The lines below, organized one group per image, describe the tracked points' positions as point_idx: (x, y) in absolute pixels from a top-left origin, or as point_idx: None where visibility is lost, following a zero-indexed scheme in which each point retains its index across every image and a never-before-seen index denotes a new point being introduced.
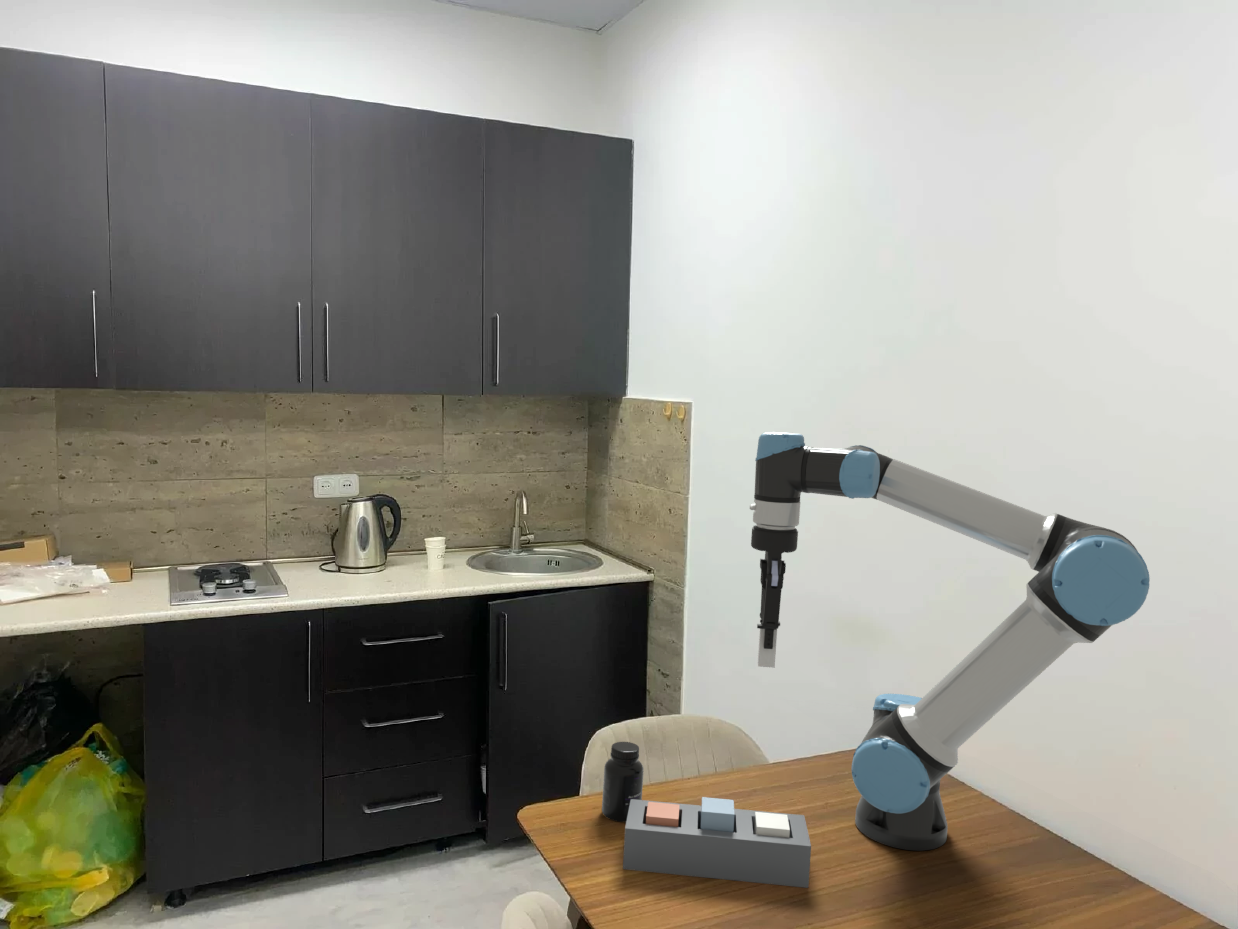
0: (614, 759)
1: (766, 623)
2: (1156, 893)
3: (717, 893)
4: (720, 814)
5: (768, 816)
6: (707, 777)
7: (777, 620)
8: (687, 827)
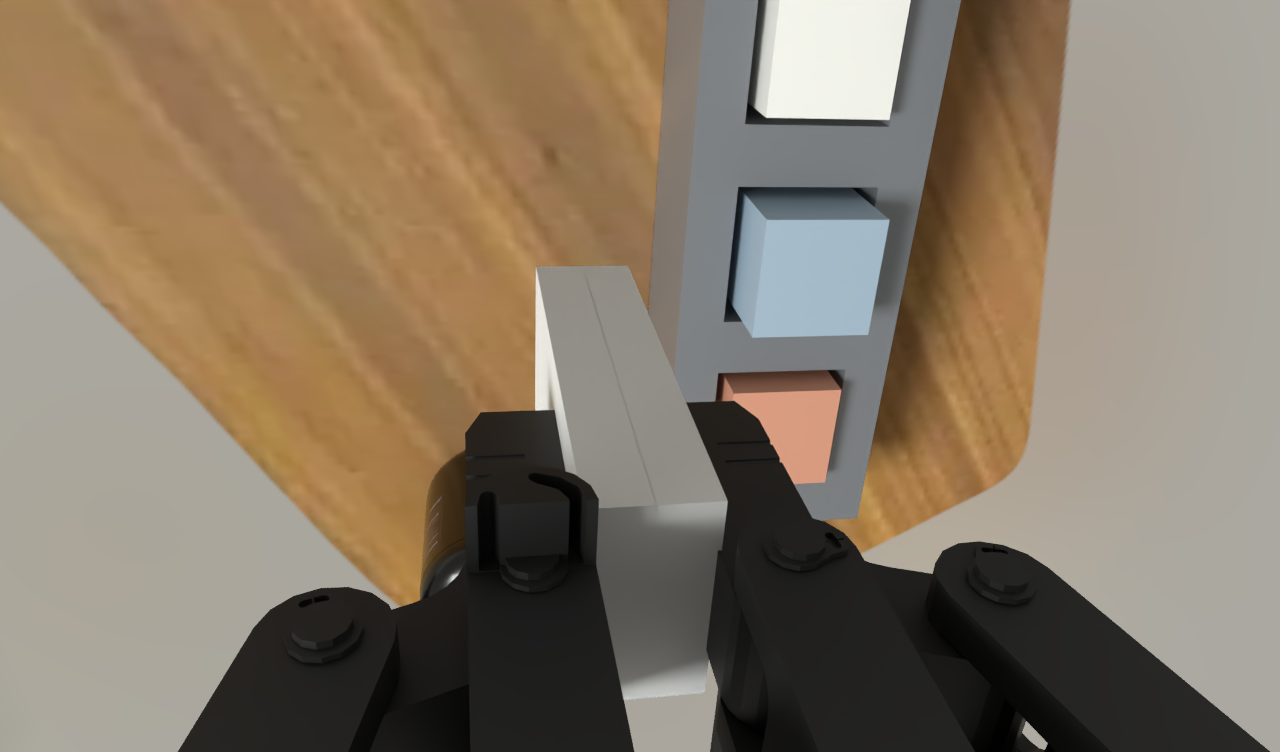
0: None
1: (1021, 737)
2: None
3: (930, 199)
4: (878, 268)
5: (804, 64)
6: (58, 233)
7: (1137, 663)
8: (846, 350)
